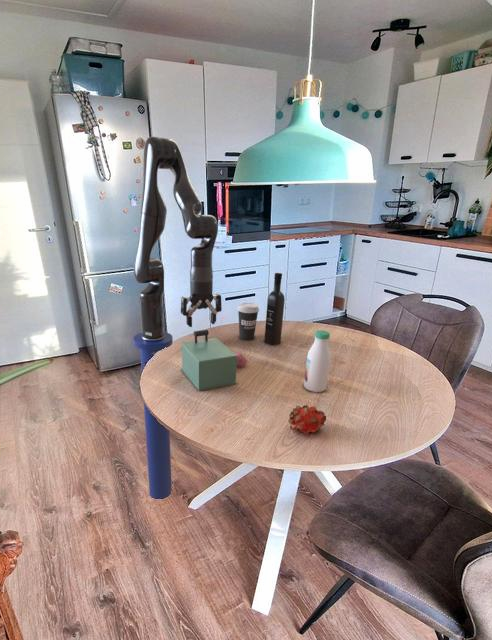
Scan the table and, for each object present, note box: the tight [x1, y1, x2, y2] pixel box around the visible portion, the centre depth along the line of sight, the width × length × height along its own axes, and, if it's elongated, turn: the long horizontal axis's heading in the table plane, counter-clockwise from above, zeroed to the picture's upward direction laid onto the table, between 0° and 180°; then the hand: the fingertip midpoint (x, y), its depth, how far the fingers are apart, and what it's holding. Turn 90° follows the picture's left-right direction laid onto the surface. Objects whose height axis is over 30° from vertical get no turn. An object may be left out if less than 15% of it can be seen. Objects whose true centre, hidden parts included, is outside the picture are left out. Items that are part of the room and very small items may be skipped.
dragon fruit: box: [288, 404, 327, 437], centre depth 107 cm, size 8×8×12 cm
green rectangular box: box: [181, 345, 238, 392], centre depth 135 cm, size 17×14×10 cm
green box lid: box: [180, 329, 237, 364], centre depth 132 cm, size 17×14×5 cm
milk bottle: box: [303, 329, 332, 393], centre depth 128 cm, size 8×8×20 cm
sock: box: [234, 351, 248, 368], centre depth 146 cm, size 8×4×4 cm, turn 25°
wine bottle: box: [263, 272, 286, 346], centre depth 163 cm, size 6×6×30 cm
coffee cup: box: [237, 302, 260, 341], centre depth 170 cm, size 10×10×15 cm
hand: (201, 324), depth 135 cm, fingers open, 8 cm apart
